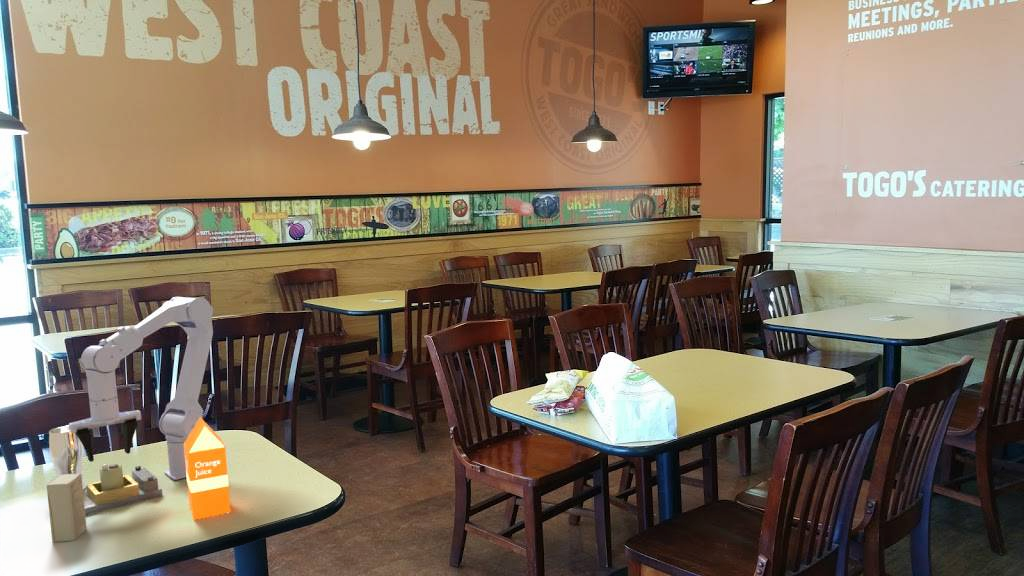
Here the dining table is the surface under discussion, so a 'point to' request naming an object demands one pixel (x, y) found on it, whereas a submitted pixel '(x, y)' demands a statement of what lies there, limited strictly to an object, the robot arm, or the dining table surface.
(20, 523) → the dining table surface
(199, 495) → the orange juice
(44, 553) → the dining table surface
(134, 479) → the grey metal fixture plate
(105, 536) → the dining table surface
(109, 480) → the spout can
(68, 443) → the beer glass
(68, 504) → the skincare box
